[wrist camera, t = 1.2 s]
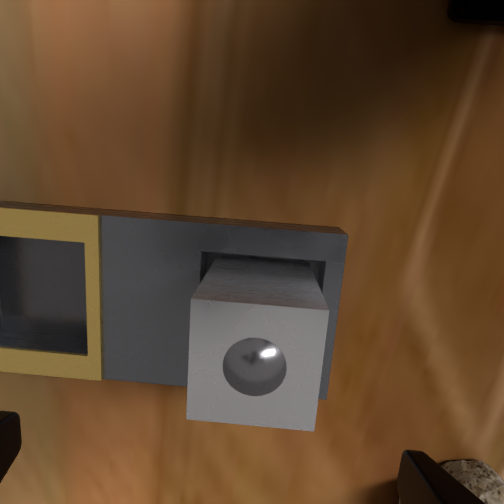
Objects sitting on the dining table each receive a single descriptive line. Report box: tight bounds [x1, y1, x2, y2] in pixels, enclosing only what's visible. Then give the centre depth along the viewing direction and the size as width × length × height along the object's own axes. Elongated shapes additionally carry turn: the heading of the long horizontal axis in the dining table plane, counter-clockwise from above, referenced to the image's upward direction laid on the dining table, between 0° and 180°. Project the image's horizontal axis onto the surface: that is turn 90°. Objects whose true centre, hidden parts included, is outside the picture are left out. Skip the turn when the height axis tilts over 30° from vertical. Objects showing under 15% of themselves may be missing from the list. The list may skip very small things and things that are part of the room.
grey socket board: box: [0, 201, 348, 400], centre depth 20 cm, size 20×9×3 cm, turn 86°
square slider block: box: [186, 255, 329, 431], centre depth 17 cm, size 5×5×7 cm
